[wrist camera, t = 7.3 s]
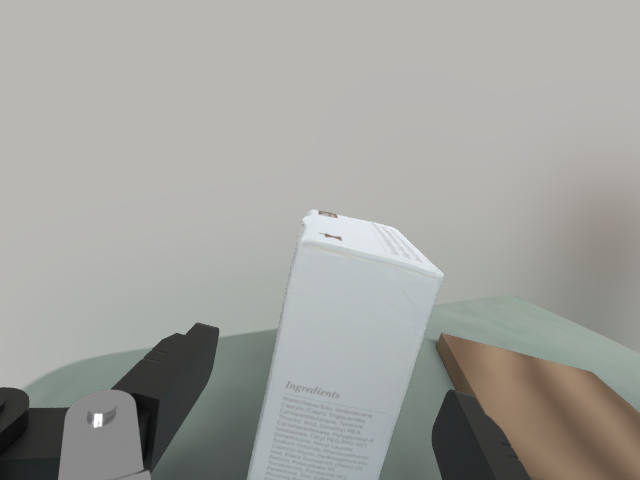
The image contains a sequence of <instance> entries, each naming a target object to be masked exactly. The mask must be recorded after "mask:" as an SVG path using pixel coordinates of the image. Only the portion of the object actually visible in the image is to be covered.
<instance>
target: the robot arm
mask: <svg viewBox="0 0 640 480" xmlns="http://www.w3.org/2000/svg"><path fill="white" fill-rule="evenodd" d="M218 337H219V328H217V327H213V326H209V325H205V324H201V323H196V324H195V325H194V326H193V327H192V328H191V329H190V330H189V331H188V333H186V335H182V334H179V333H176V334H174V335H171V336H169V337H167V338H165V339H162V340H161V341H160V342H159V343H158V344H157V345H156V346H155V347H154V348H153V349H152V351H150V352H149V353H148V354H147V355H146V356H145V357H144V359H142V360H141V361H139V362H138V363H137V364H136V365H135V366H134V367H133V368H132V369H131V370H130V371H129V372H128V373H127V374H126V375H125V376H124V377H123V378H122V379H121V380H120V381H119V382H118V383H117V384H116V385H115V386H114V387H112V388H111V389H110V390H102V391H97V392H94V393H91V394H88V395H86V396H84V397H82V398H80V399H79V400H78V401H76V402H75V403H74V404H73V405H72V406H71V407H68V408H29V397H28V395H27V394H26V393H25V392H24V391H22V390H19V389H16V388H5V387H3V388H0V480H151V477H150V474H151V472H152V471H153V469H154V467H155V466H156V464H157V463H158V461H159V459H160V458H161V456H162V455H163V453H164V452H165V450H166V448H167V447H168V445H169V444H170V442H171V440H172V439H173V437H174V436H175V434H176V432H177V431H178V429H179V428H180V426H181V424H182V423H183V421H184V420H185V418H186V417H187V415H188V413H189V412H190V410H191V409H192V407H193V405H194V404H195V402H196V401H197V399H198V397H199V396H200V394H201V393H202V391H203V390H204V388H205V386H206V384H207V382H208V380H209V378H210V375H211V372H212V369H213V364H214V358H215V353H216V348H217V342H218ZM432 446H433V450H434V453H435V457H436V460H437V463H438V467H439V470H440V473H441V476H442V480H531V478H530V476H529V475H528V473H527V471H526V469H525V468H524V466H523V464H522V463H521V461H520V460H518V456H517V454H516V452H515V451H514V449H513V448H511V444H510V442H509V440H508V439H507V437H506V435H505V434H504V432H503V430H502V429H501V428H500V427H499V426H498V425H497V424H496V423H495V422H494V421H493V420H492V419H491V418H490V416H488V415H485V413H484V412H483V410H482V408H481V406H480V404H479V403H478V401H477V399H476V397H475V396H473V395H470V394H466V393H462V392H458V391H455V390H449V391H448V392H447V393H446V396H445V398H444V401H443V403H442V406H441V408H440V411H439V413H438V416H437V418H436V421H435V423H434V426H433V430H432Z"/></svg>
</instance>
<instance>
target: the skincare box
mask: <svg viewBox="0 0 640 480" xmlns="http://www.w3.org/2000/svg"><path fill="white" fill-rule="evenodd" d="M302 222H303V226H302V228H301V231H300V234H299V236H298V240H297V243H296V248H295V252H294V256H293V261H292V265H291V269H290V274H289V278H288V283H287V288H286V292H285V297H284V302H283V307H282V312H281V317H280V322H279V327H278V331H277V336H276V341H275V346H274V351H273V356H272V361H271V366H270V371H269V375H268V380H267V385H266V389H265V394H264V399H263V403H262V408H261V413H260V418H259V422H258V427H257V432H256V437H255V441H254V446H253V451H252V456H251V460H250V465H249V470H248V475H247V479H246V480H378V478H379V475H380V472H381V469H382V466H383V463H384V460H385V457H386V454H387V451H388V448H389V445H390V442H391V439H392V435H393V432H394V429H395V426H396V423H397V420H398V417H399V414H400V411H401V407H402V404H403V401H404V397H405V395H406V392H407V389H408V386H409V382H410V379H411V376H412V372H413V369H414V366H415V363H416V360H417V357H418V353H419V350H420V347H421V344H422V341H423V337H424V334H425V331H426V327H427V324H428V321H429V318H430V315H431V312H432V309H433V306H434V303H435V301H436V298H437V295H438V292H439V289H440V286H441V283H442V281H443V279H444V274H443V273H442V272H441V271H440V270H439V269H438V268H437V267H435V266H434V265H433V264H432V263H431V262H430V261H429V260H428V259H427V258H426V257H425V256H424V255H423V254H422V253H420V251H419V250H418V249H416V248H415V247H414V246H413V245H412V244H411V243H410V242H409V241H408V240H407V239H406V238H405V237H404V236H403V235H402V234H401V233H400V232H399V231H398V230H397V229H395V228H393V227H389V226H386V225H382V224H378V223H374V222H369V221H364V220H359V219H354V218H350V217H345V216H341V215H336V214H332V213H327V212H322V211H318V210H310V211H309V212H307V215H306V217H304V218H303V220H302Z"/></svg>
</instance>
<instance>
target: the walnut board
mask: <svg viewBox="0 0 640 480" xmlns="http://www.w3.org/2000/svg"><path fill="white" fill-rule="evenodd" d="M436 348H437V350H438V352H439V354H440V356H441V358H442V361H443V363H444V365H445V367H446V369H447V371H448V373H449V375H450V377H451V379H452V381H453V383H454V385H455V388H456V390H457V391H458V392H462V393H466V394H470V395H473V396H475V397H476V399H477V401H478V403H479V404H480V406H481V408H482V410H483V412H484V413H485V415H488V416H490V418H491V419H492V420H493V421H494V422H495V423H496V424H497V425H498V426H499V427H500V428H501V429H502V430H503V432H504V434H505V435H506V437H507V439H508V440H509V442H510V444H511V448H513V449H514V451H515V452H516V454H517V456H518V460H520V461H521V463H522V464H523V466H524V468H525V469H526V471H527V473H528V475H529V476H530V478H531V480H640V413H639V412H638V411H637V410H636V409H634V408H633V407H632V406H631V405H630V404H629V403H627V402H626V401H625V400H624V399H623V398H622V397H620V396H619V395H618V394H617V393H616V392H615V391H613V390H612V389H611V388H610V387H609V386H608V385H606V384H605V383H604V382H603V381H602V380H600V379H599V378H598V377H597V376H596V375H595V374H593V373H592V372H589V371H585V370H581V369H577V368H574V367H570V366H566V365H562V364H558V363H554V362H551V361H547V360H543V359H539V358H535V357H531V356H527V355H524V354H520V353H516V352H512V351H508V350H504V349H501V348H497V347H493V346H489V345H485V344H481V343H478V342H474V341H470V340H466V339H462V338H458V337H455V336H451V335H447V334H443V333H441V335H440V338H439V341H438V343H437V346H436Z"/></svg>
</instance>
